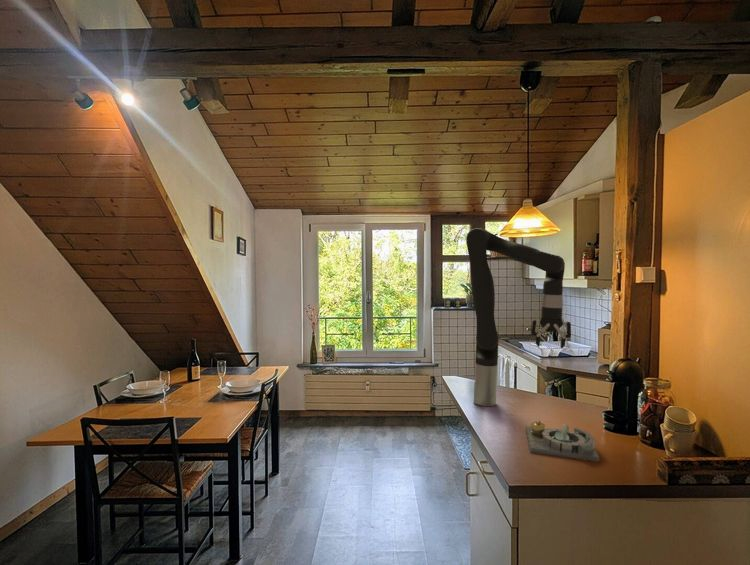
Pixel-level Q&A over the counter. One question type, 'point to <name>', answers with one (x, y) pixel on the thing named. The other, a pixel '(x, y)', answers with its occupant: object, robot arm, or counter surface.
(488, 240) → the robot arm
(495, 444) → the counter surface
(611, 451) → the counter surface
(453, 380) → the counter surface
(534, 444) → the grey ring holder
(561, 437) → the pacifier
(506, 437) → the counter surface
